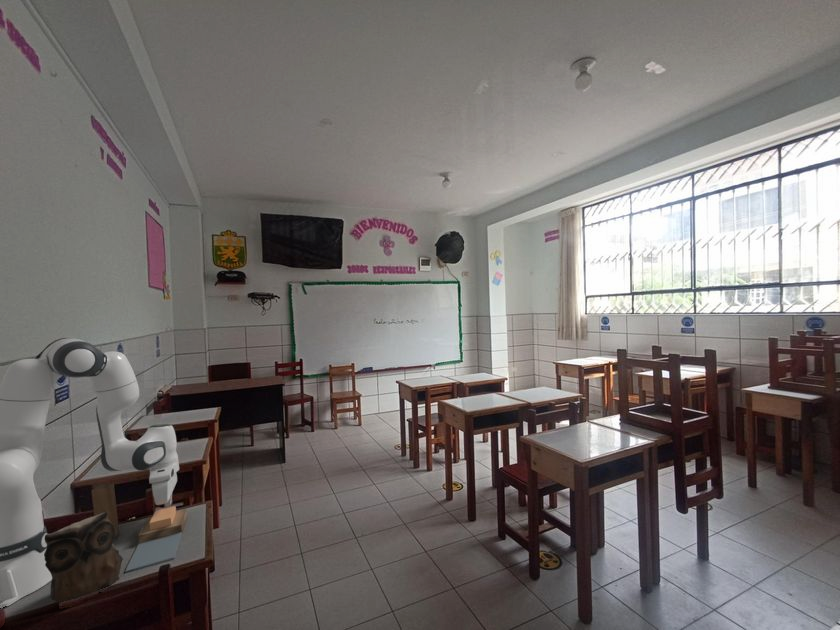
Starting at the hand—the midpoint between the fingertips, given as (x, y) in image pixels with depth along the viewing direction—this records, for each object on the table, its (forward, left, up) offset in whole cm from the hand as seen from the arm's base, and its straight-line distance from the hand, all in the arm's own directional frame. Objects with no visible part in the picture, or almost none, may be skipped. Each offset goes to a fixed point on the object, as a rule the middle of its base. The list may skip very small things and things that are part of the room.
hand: (168, 505), depth 143 cm
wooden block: (-19, -5, -4) cm, 20 cm away
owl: (-13, -34, -4) cm, 37 cm away
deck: (0, -10, -4) cm, 11 cm away
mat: (0, -23, -4) cm, 24 cm away
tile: (0, -10, -1) cm, 10 cm away
